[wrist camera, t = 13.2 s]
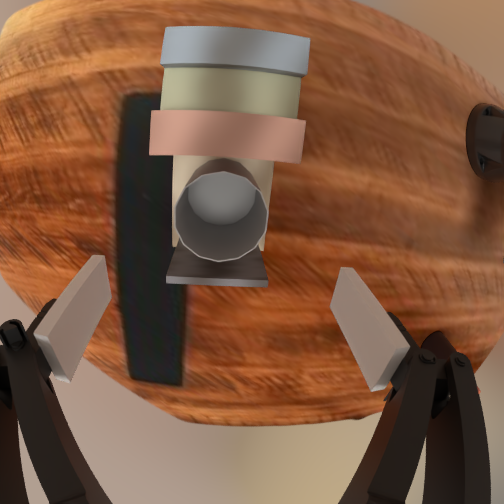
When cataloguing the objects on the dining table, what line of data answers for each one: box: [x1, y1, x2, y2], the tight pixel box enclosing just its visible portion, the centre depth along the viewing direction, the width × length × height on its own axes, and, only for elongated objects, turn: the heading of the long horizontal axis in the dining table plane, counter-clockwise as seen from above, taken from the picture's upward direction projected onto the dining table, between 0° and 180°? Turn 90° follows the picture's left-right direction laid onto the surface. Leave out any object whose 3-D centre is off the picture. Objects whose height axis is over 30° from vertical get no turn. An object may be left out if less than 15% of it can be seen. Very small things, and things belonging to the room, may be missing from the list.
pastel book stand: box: [149, 26, 310, 287], centre depth 25 cm, size 12×24×17 cm, turn 174°
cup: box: [174, 158, 269, 262], centre depth 29 cm, size 8×8×10 cm
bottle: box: [421, 331, 480, 393], centre depth 45 cm, size 7×7×20 cm
